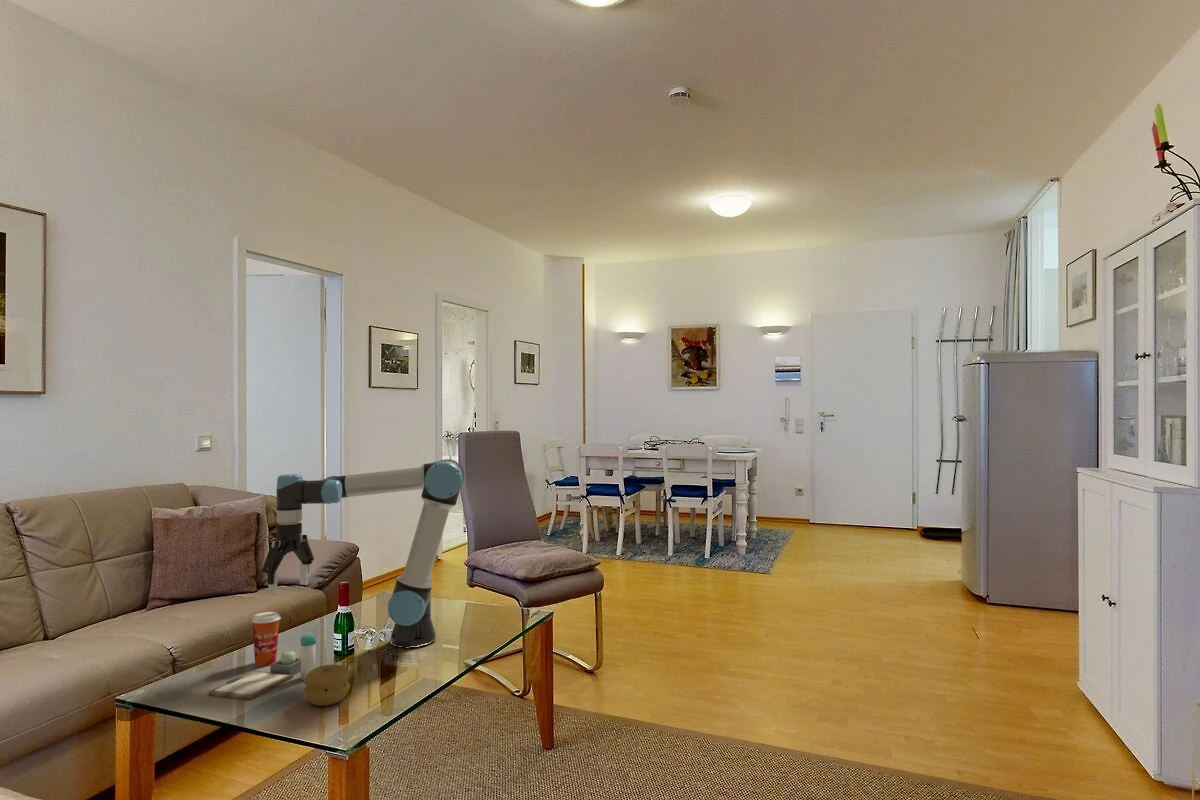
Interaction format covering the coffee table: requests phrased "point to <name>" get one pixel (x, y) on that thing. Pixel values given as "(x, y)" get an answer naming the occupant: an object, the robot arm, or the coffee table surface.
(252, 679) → the drawing board
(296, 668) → the button housing
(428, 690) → the coffee table surface
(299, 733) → the coffee table surface
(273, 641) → the coffee cup
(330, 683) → the pot
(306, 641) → the marker
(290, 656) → the button
